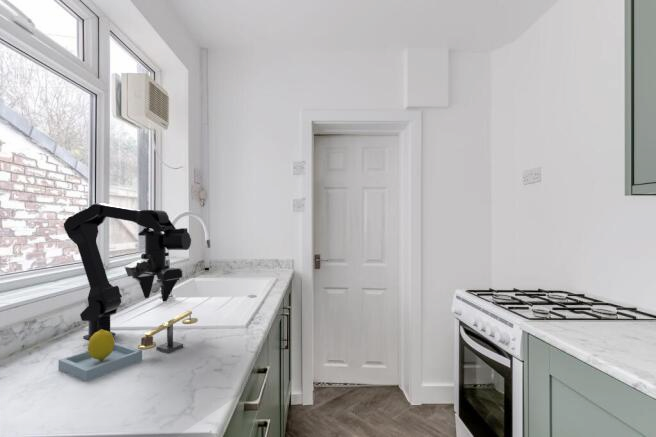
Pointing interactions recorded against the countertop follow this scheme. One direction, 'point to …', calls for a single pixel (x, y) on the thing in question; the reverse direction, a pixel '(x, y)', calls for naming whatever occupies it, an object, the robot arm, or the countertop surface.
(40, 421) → the countertop surface
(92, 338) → the lemon
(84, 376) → the dish
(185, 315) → the balance
